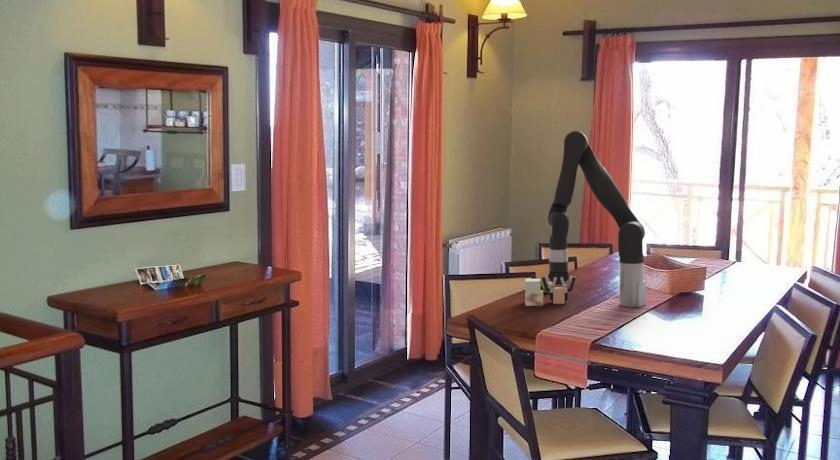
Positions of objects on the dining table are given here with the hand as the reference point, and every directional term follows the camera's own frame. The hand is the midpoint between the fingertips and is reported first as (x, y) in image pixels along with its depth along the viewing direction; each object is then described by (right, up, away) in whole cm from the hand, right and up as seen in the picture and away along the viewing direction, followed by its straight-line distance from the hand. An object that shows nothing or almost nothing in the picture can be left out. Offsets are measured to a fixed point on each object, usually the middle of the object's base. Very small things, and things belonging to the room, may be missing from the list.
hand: (558, 301), depth 319 cm
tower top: (-11, +4, -1) cm, 11 cm away
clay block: (0, -1, 0) cm, 1 cm away
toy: (-4, +1, +18) cm, 19 cm away
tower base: (-10, -1, -1) cm, 10 cm away
